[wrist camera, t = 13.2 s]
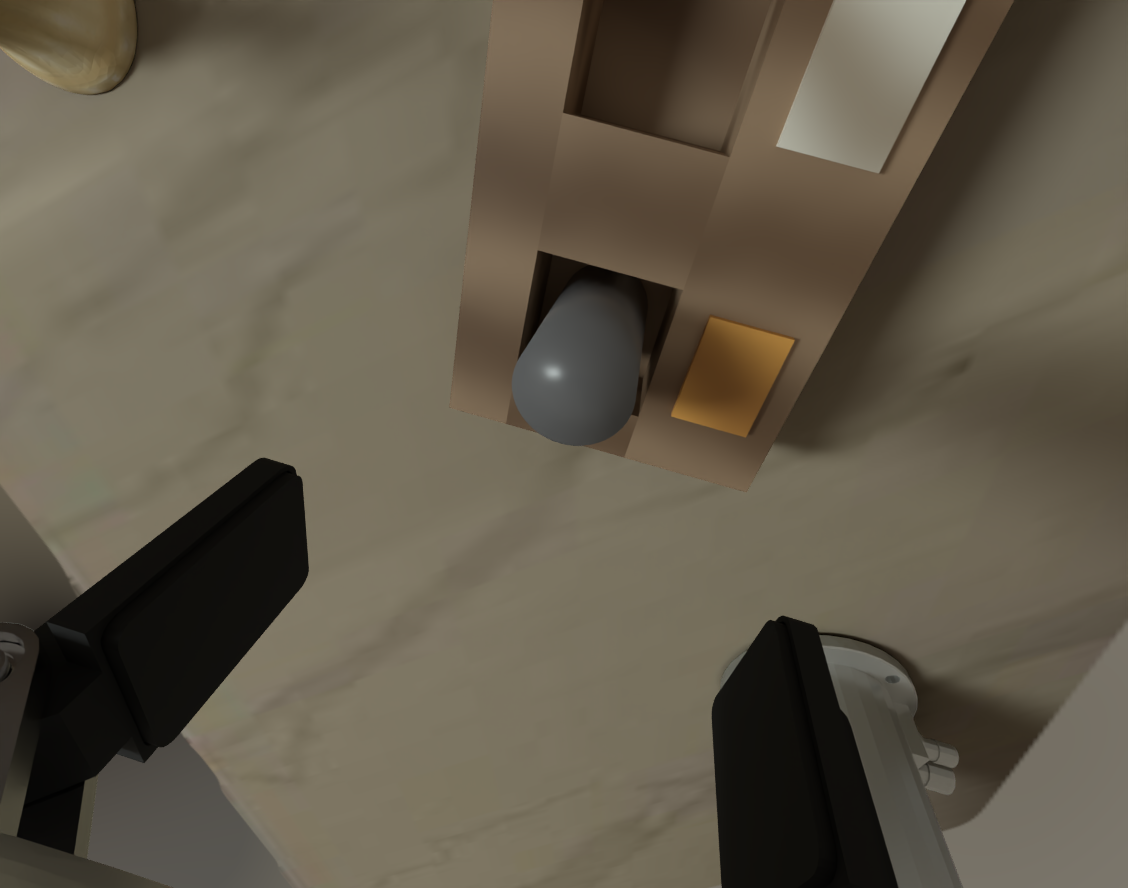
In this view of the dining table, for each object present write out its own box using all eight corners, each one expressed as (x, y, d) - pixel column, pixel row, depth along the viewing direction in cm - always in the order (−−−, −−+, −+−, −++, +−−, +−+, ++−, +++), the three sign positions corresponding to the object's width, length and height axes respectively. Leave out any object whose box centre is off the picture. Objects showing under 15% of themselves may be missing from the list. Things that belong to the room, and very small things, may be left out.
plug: (659, 275, 23) (652, 352, 15) (633, 356, 25) (616, 459, 17) (571, 252, 23) (522, 316, 15) (554, 335, 25) (503, 427, 18)
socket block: (561, -187, 17) (521, -299, 12) (987, -81, 16) (1105, -157, 12) (482, 364, 28) (446, 410, 23) (735, 435, 27) (747, 496, 23)
